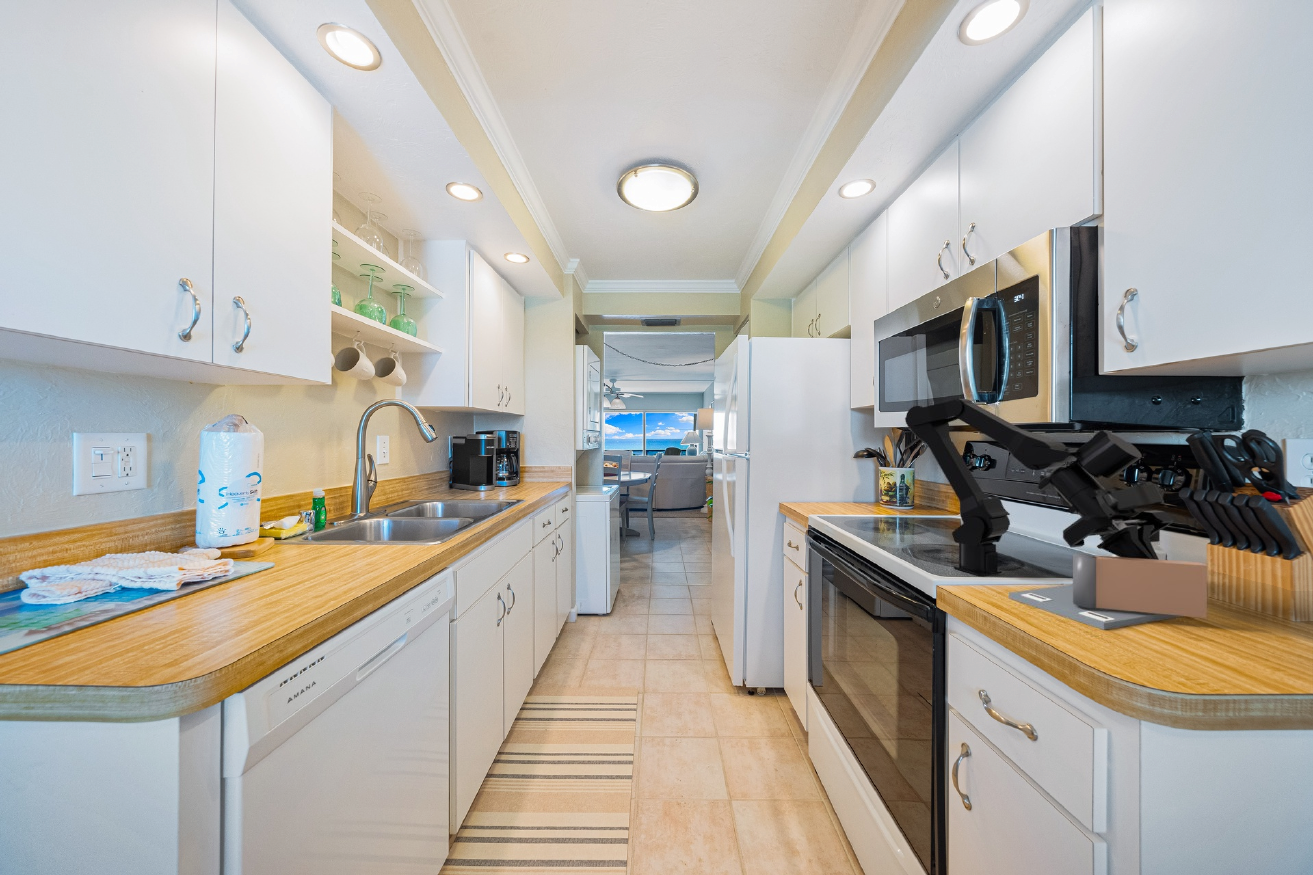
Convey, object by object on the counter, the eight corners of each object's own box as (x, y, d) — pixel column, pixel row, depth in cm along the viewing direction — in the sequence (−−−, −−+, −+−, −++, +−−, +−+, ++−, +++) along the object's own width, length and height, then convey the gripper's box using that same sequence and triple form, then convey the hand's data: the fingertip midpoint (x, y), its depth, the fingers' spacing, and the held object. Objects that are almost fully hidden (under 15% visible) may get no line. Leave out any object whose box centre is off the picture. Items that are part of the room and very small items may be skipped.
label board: (1008, 598, 90) (1008, 591, 90) (1086, 587, 95) (1086, 581, 95) (1103, 629, 75) (1103, 621, 75) (1188, 615, 81) (1188, 607, 81)
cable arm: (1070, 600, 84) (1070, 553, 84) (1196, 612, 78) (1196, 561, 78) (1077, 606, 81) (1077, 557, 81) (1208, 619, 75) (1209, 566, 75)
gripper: (1083, 467, 82) (1166, 550, 71) (1160, 464, 87) (1248, 541, 77) (1033, 507, 89) (1103, 588, 79) (1107, 502, 95) (1181, 577, 84)
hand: (1160, 573), depth 80 cm, fingers closed
